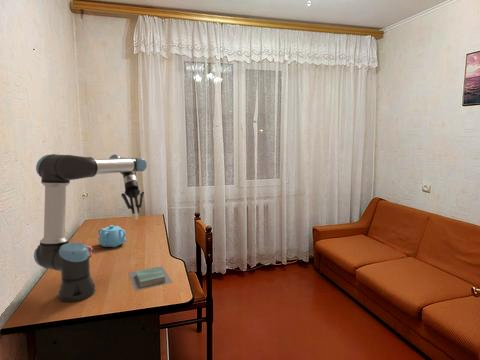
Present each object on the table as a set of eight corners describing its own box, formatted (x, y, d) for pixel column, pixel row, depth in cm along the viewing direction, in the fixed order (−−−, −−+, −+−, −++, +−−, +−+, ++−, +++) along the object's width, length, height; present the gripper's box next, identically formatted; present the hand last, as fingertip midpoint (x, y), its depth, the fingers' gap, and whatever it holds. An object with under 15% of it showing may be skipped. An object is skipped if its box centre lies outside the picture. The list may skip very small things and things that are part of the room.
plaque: (158, 270, 170) (165, 281, 158) (135, 275, 164) (140, 286, 152) (158, 266, 170) (165, 277, 157) (135, 271, 164) (140, 282, 152)
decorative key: (58, 263, 189) (94, 255, 193) (58, 264, 187) (93, 256, 192) (55, 253, 187) (91, 245, 192) (55, 254, 186) (91, 245, 191)
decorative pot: (100, 251, 201) (99, 230, 199) (98, 243, 215) (96, 224, 213) (127, 246, 209) (126, 226, 207) (123, 239, 223) (122, 221, 221)
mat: (172, 283, 157) (172, 282, 157) (135, 291, 149) (135, 290, 148) (162, 267, 176) (162, 266, 176) (128, 273, 168) (128, 272, 168)
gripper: (141, 187, 193) (148, 220, 181) (119, 188, 187) (124, 222, 175) (142, 179, 188) (149, 213, 175) (119, 181, 182) (124, 215, 169)
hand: (136, 217), depth 175 cm, fingers closed
